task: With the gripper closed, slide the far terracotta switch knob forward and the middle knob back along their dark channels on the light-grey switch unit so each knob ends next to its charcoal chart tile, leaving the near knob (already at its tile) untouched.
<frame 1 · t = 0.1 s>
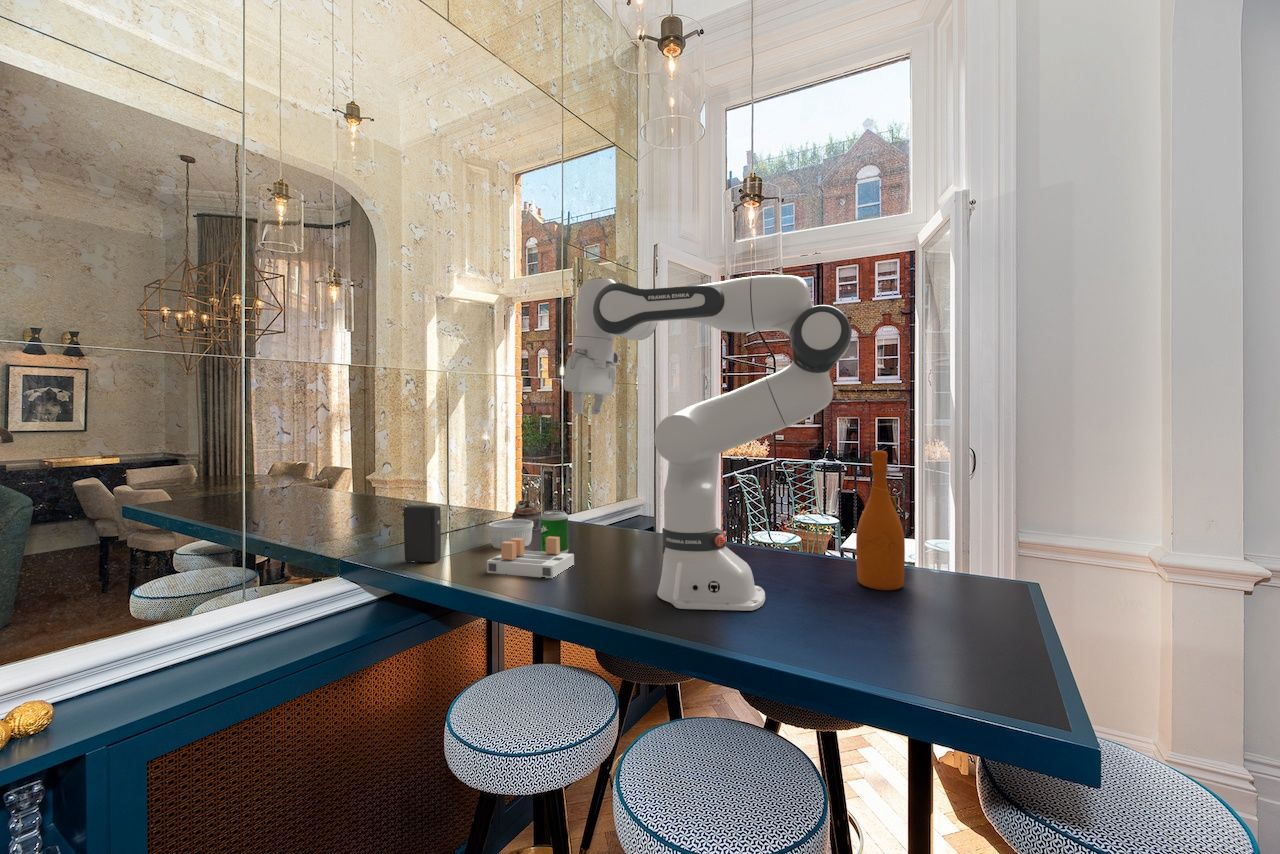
hand: (587, 414, 122), 39 cm above the breakfast bar, tool pointing down, fingers open, 8 cm apart
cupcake: (526, 530, 188), on the breakfast bar
soda can: (554, 555, 151), on the breakfast bar
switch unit: (531, 569, 137), on the breakfast bar
wine bottle: (880, 586, 120), on the breakfast bar
card reader: (423, 562, 146), on the breakfast bar
slider near: (508, 550, 134), point 5 cm above the breakfast bar, slide at 4.0 cm
slider far: (552, 545, 139), point 5 cm above the breakfast bar, slide at -4.0 cm
slider middle: (517, 546, 138), point 5 cm above the breakfast bar, slide at 4.0 cm
ramekin: (511, 546, 164), on the breakfast bar
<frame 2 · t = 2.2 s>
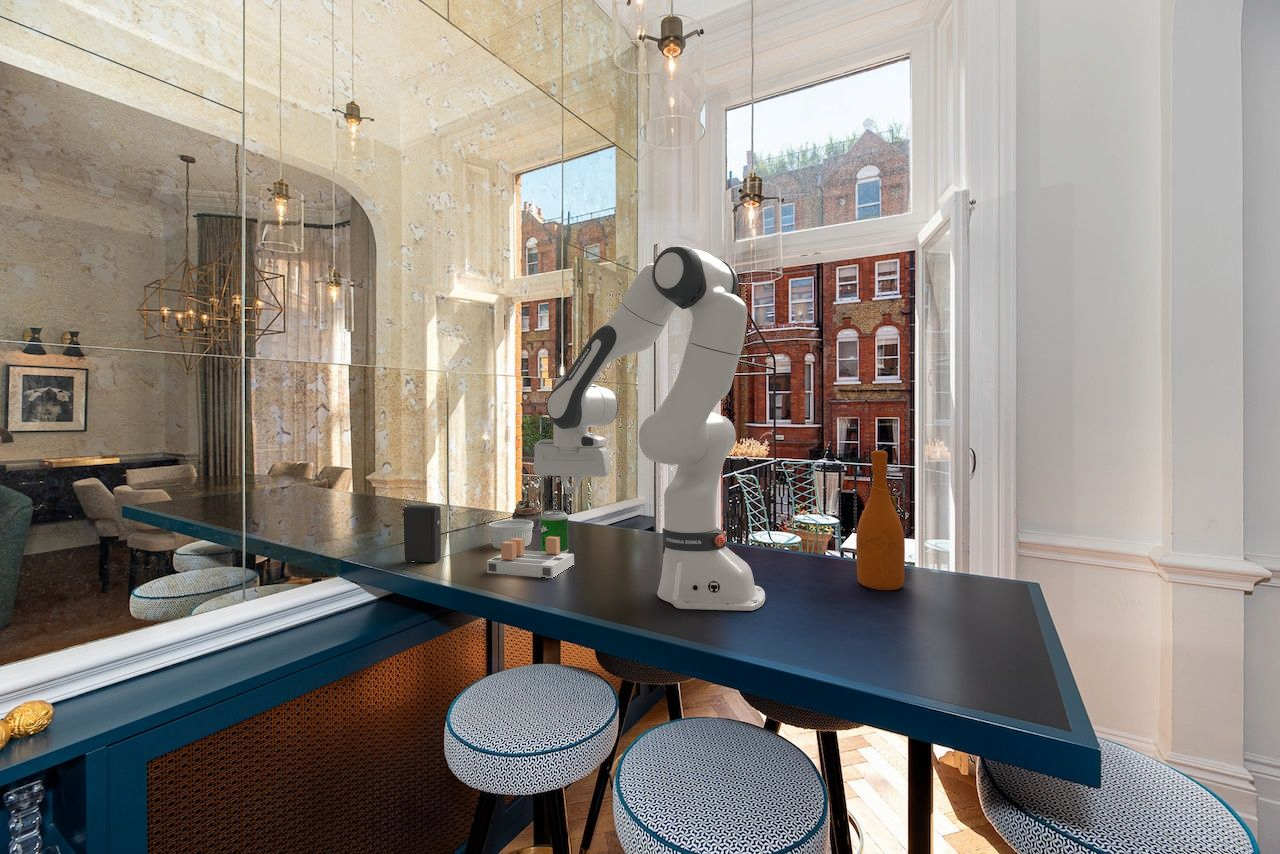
hand: (571, 493, 138), 19 cm above the breakfast bar, tool pointing down, fingers closed
nothing on the breakfast bar moved.
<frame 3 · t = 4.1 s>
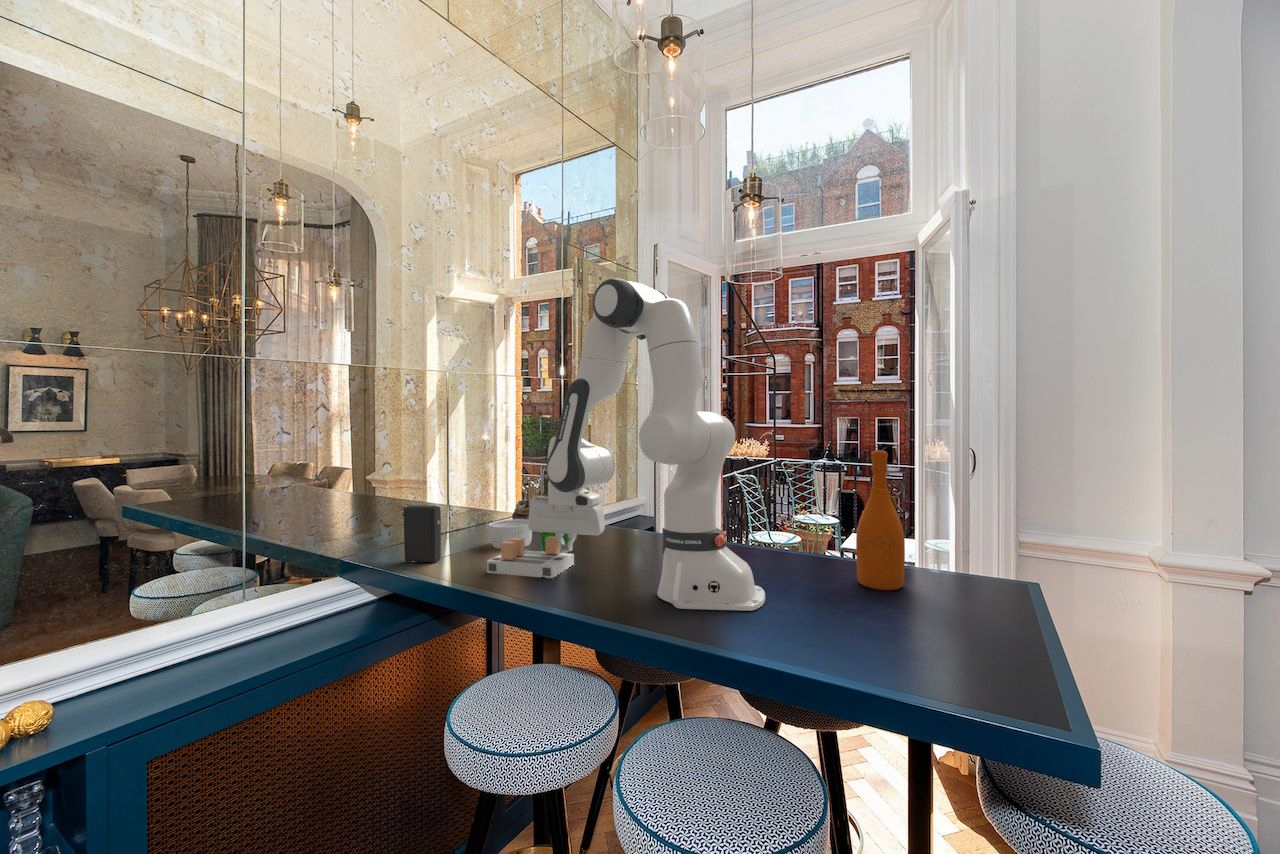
hand: (566, 550, 138), 4 cm above the breakfast bar, tool pointing down, fingers closed
slider far: (552, 545, 139), point 5 cm above the breakfast bar, slide at -3.9 cm, touching gripper
everything else where it was.
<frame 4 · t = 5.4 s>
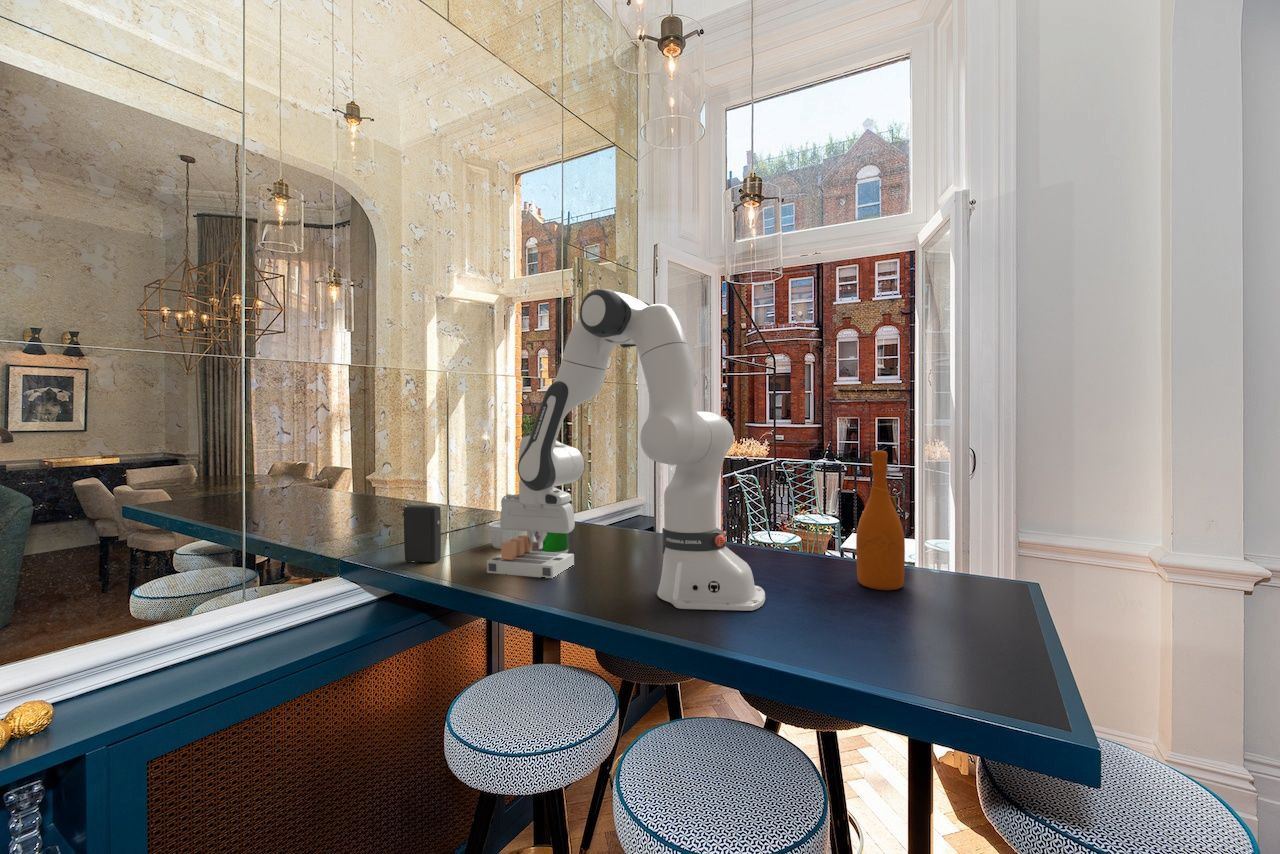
hand: (537, 548, 141), 4 cm above the breakfast bar, tool pointing down, fingers closed
slider far: (524, 543, 142), point 5 cm above the breakfast bar, slide at 4.2 cm, touching gripper
everything else where it was.
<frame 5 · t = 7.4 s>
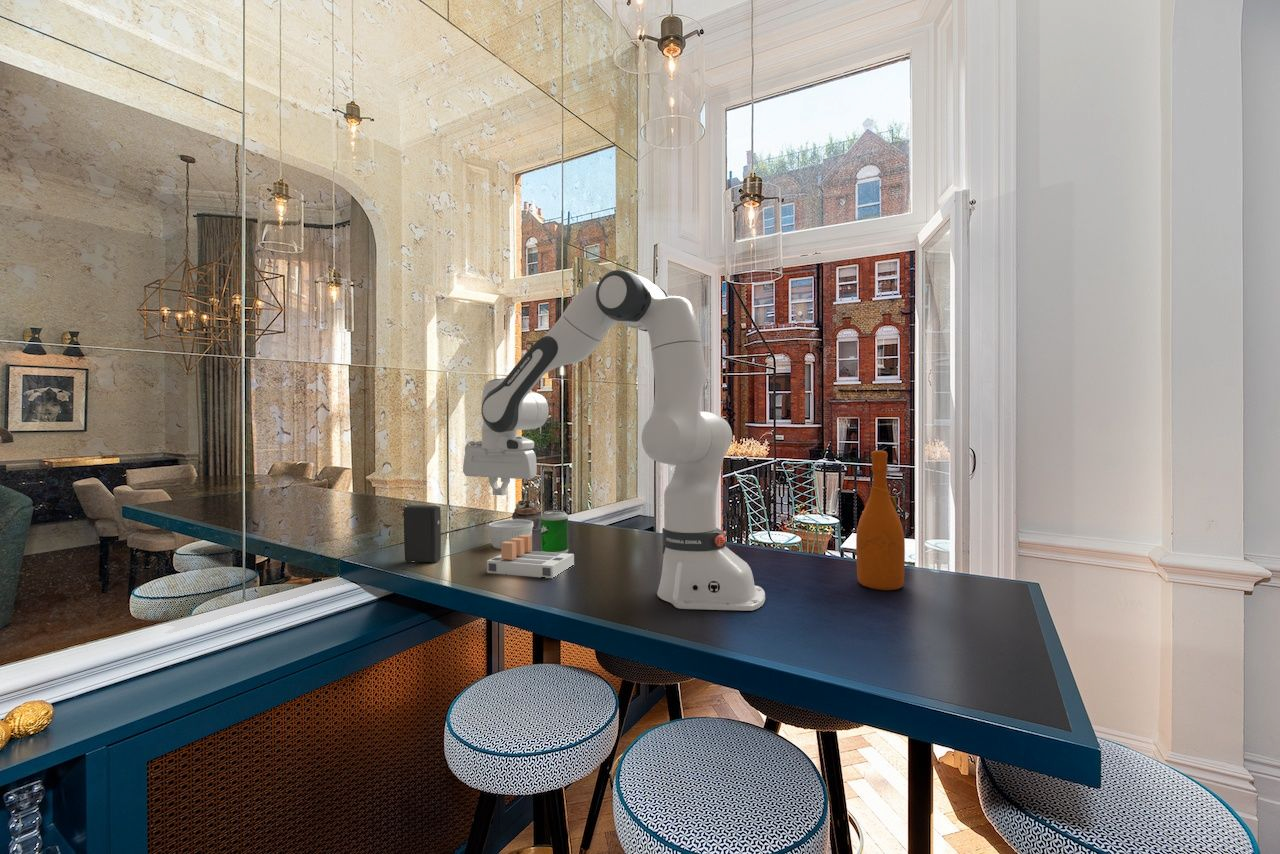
hand: (499, 494, 141), 18 cm above the breakfast bar, tool pointing down, fingers closed
slider far: (525, 543, 142), point 5 cm above the breakfast bar, slide at 4.1 cm
everything else where it was.
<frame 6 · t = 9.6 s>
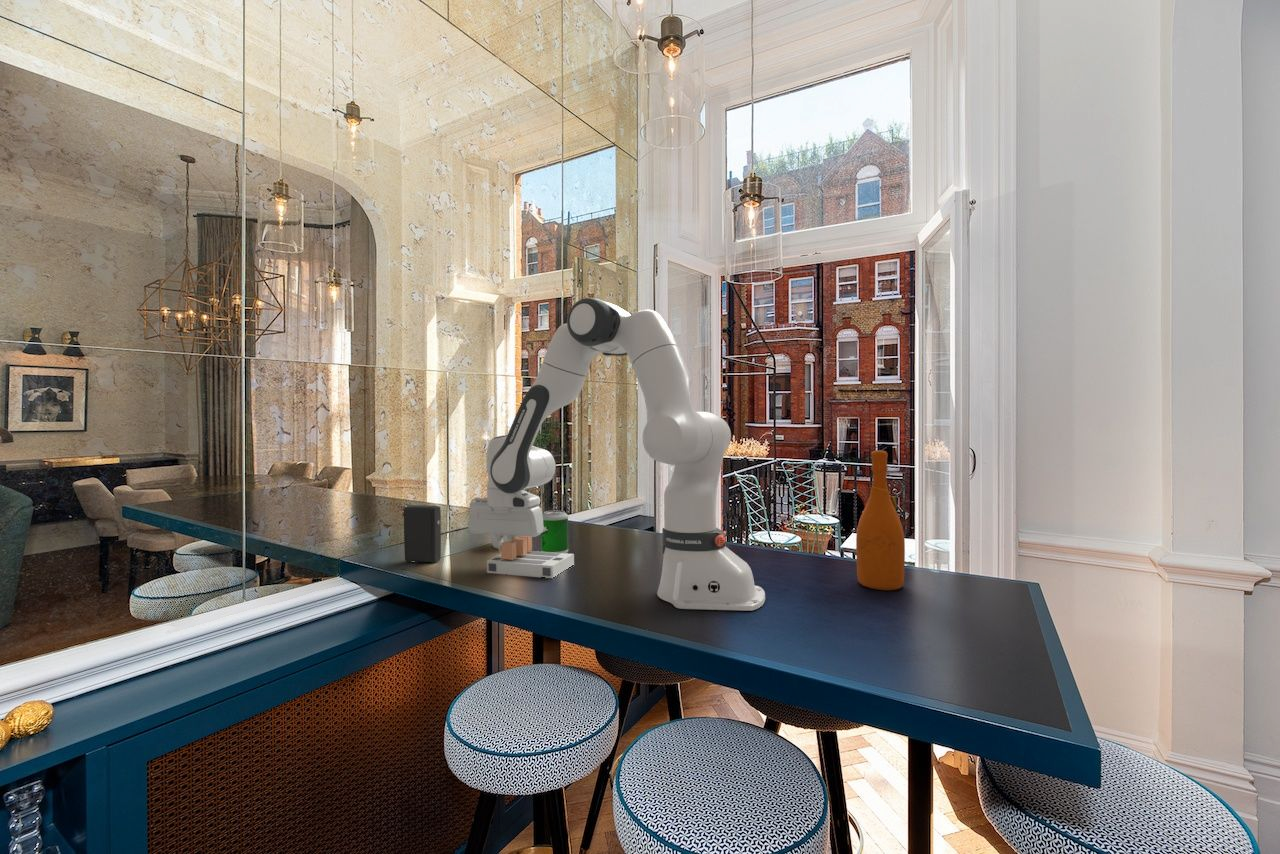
hand: (505, 552, 139), 4 cm above the breakfast bar, tool pointing down, fingers closed
slider middle: (519, 547, 138), point 5 cm above the breakfast bar, slide at 3.3 cm, touching gripper
everything else where it was.
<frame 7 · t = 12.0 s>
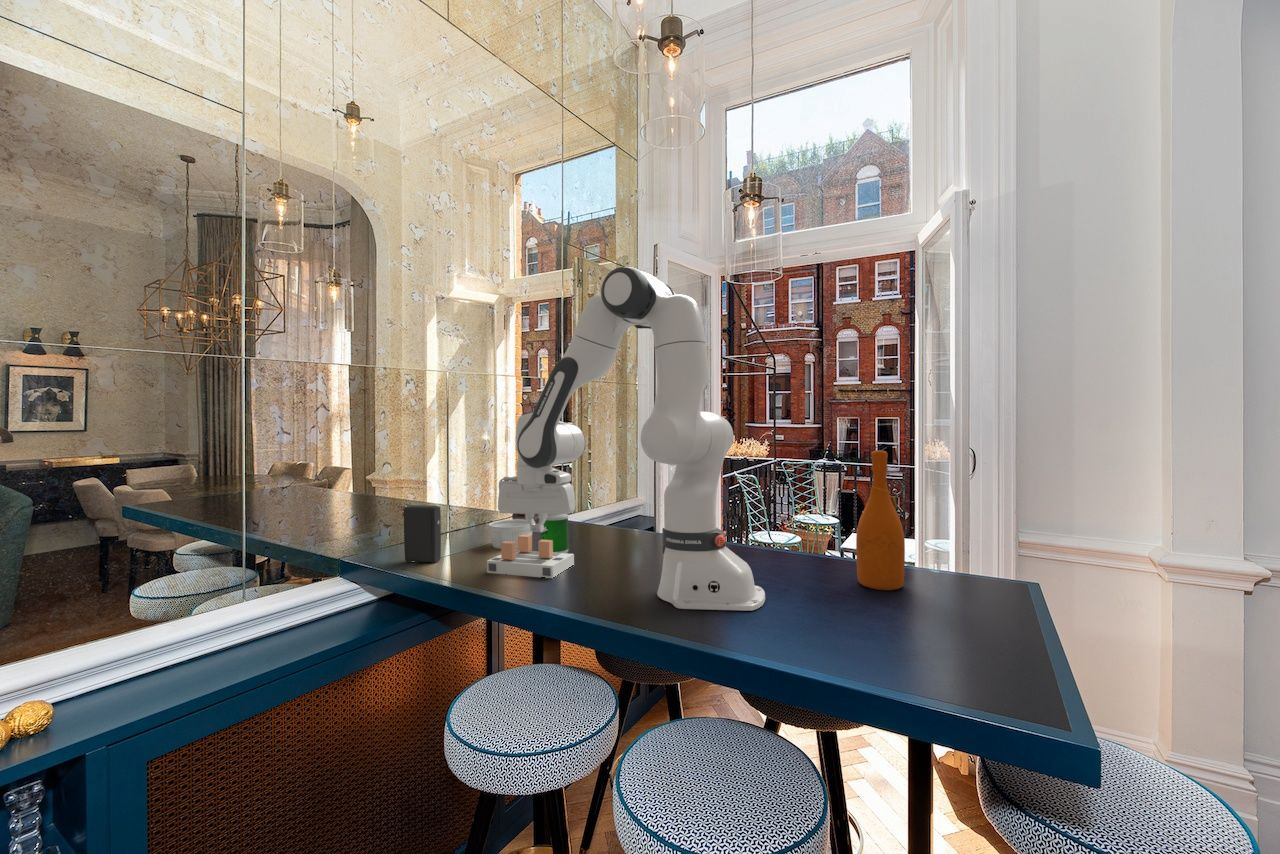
hand: (536, 531, 136), 10 cm above the breakfast bar, tool pointing down, fingers closed
slider middle: (545, 548, 136), point 5 cm above the breakfast bar, slide at -4.1 cm
everything else where it was.
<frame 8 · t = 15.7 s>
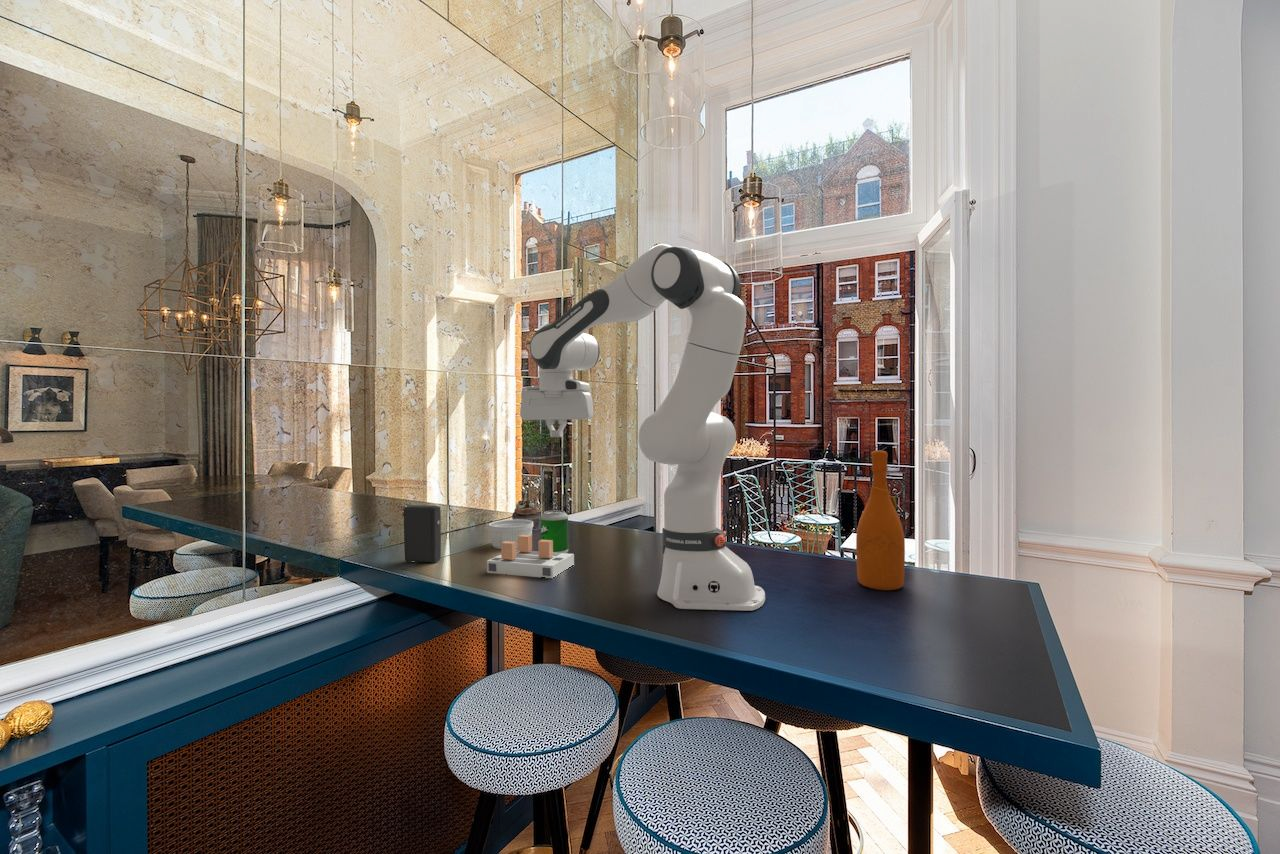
hand: (556, 437, 144), 33 cm above the breakfast bar, tool pointing down, fingers closed
nothing on the breakfast bar moved.
at the end: slider far slide at 4.1 cm; slider middle slide at -4.1 cm; slider near slide at 4.0 cm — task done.
